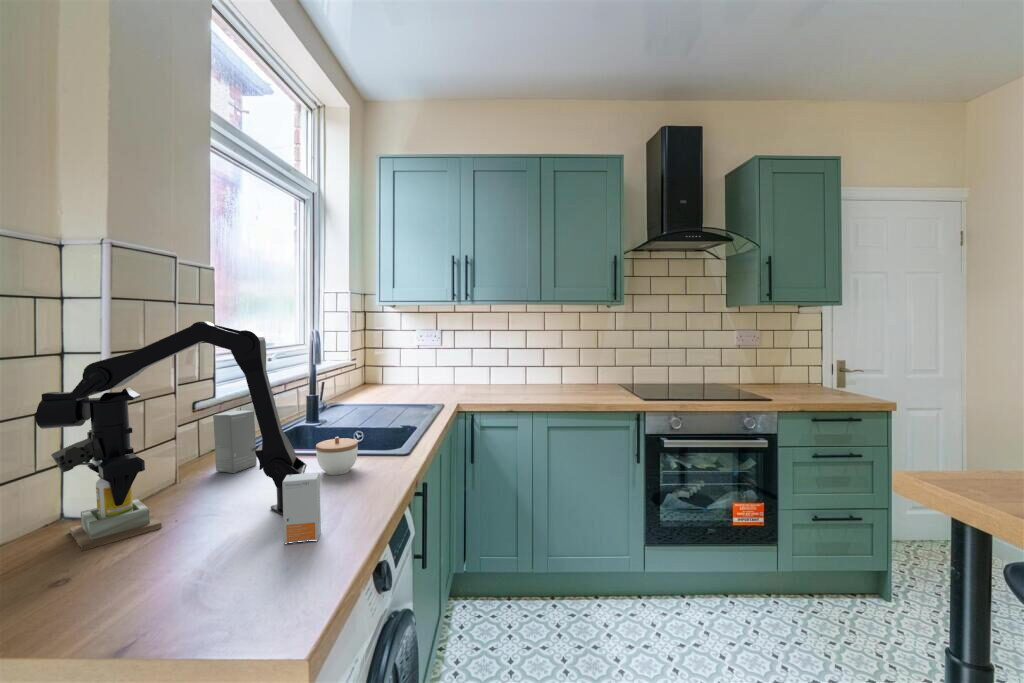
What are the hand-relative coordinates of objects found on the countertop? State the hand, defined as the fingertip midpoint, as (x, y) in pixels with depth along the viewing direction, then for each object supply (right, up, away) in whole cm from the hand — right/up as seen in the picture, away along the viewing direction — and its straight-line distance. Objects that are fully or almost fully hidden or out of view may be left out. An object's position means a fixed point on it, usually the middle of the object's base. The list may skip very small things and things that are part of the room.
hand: (115, 501), depth 95 cm
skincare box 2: (+39, -6, -4) cm, 40 cm away
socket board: (0, -6, 0) cm, 6 cm away
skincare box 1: (+2, -4, +39) cm, 39 cm away
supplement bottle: (0, -3, 0) cm, 3 cm away
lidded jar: (+31, -4, +35) cm, 47 cm away
